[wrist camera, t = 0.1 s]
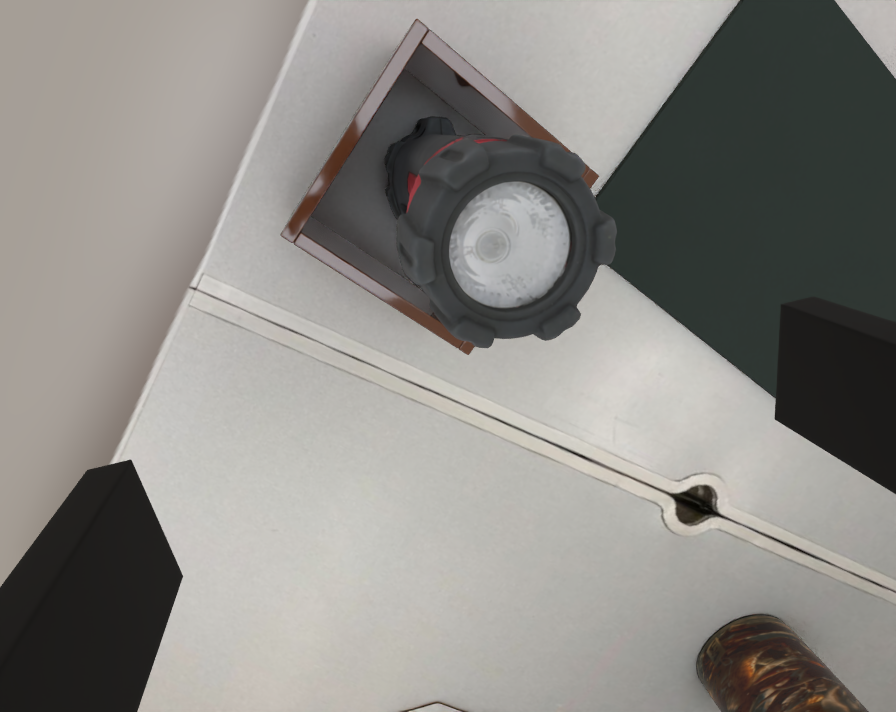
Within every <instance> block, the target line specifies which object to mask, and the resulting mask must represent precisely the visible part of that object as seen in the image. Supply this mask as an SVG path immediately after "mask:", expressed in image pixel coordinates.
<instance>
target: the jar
mask: <svg viewBox="0 0 896 712" xmlns="http://www.w3.org/2000/svg"><path fill="white" fill-rule="evenodd" d="M697 673H698V676H699V679H700V681H701V682H702V684H703V685H704V687H705V688H706V690H707V691H708V693H709V694H710V696H711V697H712V699H713V700H714V702H715V703H716V705H717V706H718V708H719V709H720V711H721V712H868V711H867V709H866V708H865V707H864V706H863V705H862V704H861V703H860V702H859V701H858V700H857V698H856V697H855V696H854V695H853V694H852V693H851V692H850V691H849V690H848V689H847V688H846V687H845V685H844V684H843V683H842V682H841V681H840V680H839V679H838V678H837V677H836V676H835V675H834V674H833V673H832V672H831V671H830V669H829V668H828V667H827V666H826V665H825V664H824V663H823V662H822V661H821V660H820V659H819V658H818V657H817V656H816V655H815V654H814V653H813V652H812V650H811V649H810V648H809V647H808V646H807V645H806V644H805V643H804V642H803V641H802V640H801V639H800V638H799V637H798V636H797V635H796V634H795V633H794V632H793V631H792V630H791V629H790V628H789V627H788V626H787V625H786V624H785V623H784V622H783V621H781V620H780V619H778V618H776V617H773V616H769V615H754V616H748V617H744V618H741V619H739V620H736V621H734V622H732V623H730V624H728V625H726V626H725V627H723V628H722V629H721V630H719V631H718V632H717V633H716V634H715V635H713V636H712V637H711V639H710V640H709V641H708V642H707V643H706V645H705V646H704V648H703V649H702V651H701V653H700V655H699V658H698V662H697Z"/></svg>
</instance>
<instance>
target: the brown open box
mask: <svg viewBox="0 0 896 712" xmlns="http://www.w3.org/2000/svg"><path fill="white" fill-rule="evenodd" d="M404 68H405V69H406V70H407V71H408V72H410V73H411V74H412V75H413V76H414V77H416V78H417V79H418V80H419V81H420V82H422V83H423V84H424V85H425V86H427V87H428V88H429V89H430V90H431V91H433V92H434V93H435V94H436V95H438V96H439V97H440V98H441V99H442V100H444V101H445V102H446V103H447V104H449V105H450V106H451V107H452V108H453V109H455V110H456V111H457V112H458V113H460V114H461V115H462V116H463V117H464V118H466V119H467V120H468V121H469V122H470V123H472V124H473V125H474V126H475V127H477V128H478V129H479V130H480V131H481V132H483V133H484V134H485V135H486V136H493V137H500V138H505V139H509V138H510V137H511V135H514V134H518V135H522V136H527V137H532V138H537V139H542V140H546V141H551V142H554V143H557V144H560V145H561V146H562V147H563V149H564V150H565V151H566V152H571V151H570V150H569V149H568V148H566V147H565V146H564V145H563V144H562V143H561V142H559V141H558V140H557V139H556V138H555V137H554V136H553V135H551V134H550V133H549V132H548V131H547V130H546V129H544V128H543V127H542V126H541V125H540V124H539V123H537V122H536V121H535V120H534V119H533V118H532V117H531V116H529V115H528V114H527V113H526V112H525V111H524V110H522V109H521V108H520V107H519V106H518V105H517V104H516V103H514V102H513V101H512V100H511V99H510V98H509V97H507V96H506V95H505V94H504V93H503V92H502V91H501V90H499V89H498V88H497V87H496V86H495V85H494V84H492V83H491V82H490V81H489V80H488V79H487V78H486V77H484V76H483V75H482V74H481V73H480V72H479V71H477V70H476V69H475V68H474V67H473V66H472V65H470V64H469V63H468V62H467V61H466V60H465V59H464V58H462V57H461V56H460V55H459V54H458V53H457V52H455V51H454V50H453V49H452V48H451V47H450V46H449V45H447V44H446V43H445V42H444V41H443V40H442V39H440V38H439V37H438V36H437V35H436V34H435V33H434V32H432V31H431V30H429V29H428V27H426V26H425V25H424V24H423V23H422V22H421V21H420V20H418V19H416V20H415V21H414V22H413V24H412V25H411V27H410V28H409V30H408V31H407V33H406V34H405V35H404V37H403V38H402V40H401V41H400V43H399V44H398V46H397V47H396V49H395V50H394V52H393V53H392V55H391V57H390V58H389V60H388V61H387V63H386V65H385V66H384V68H383V69H382V71H381V73H380V74H379V76H378V77H377V79H376V80H375V82H374V84H373V85H372V87H371V88H370V90H369V92H368V93H367V95H366V96H365V98H364V100H363V101H362V103H361V104H360V106H359V108H358V109H357V111H356V112H355V114H354V116H353V117H352V119H351V120H350V122H349V123H348V125H347V127H346V128H345V130H344V131H343V133H342V135H341V136H340V138H339V139H338V141H337V143H336V144H335V146H334V147H333V149H332V151H331V152H330V154H329V155H328V157H327V159H326V160H325V162H324V163H323V165H322V166H321V168H320V170H319V171H318V173H317V174H316V176H315V178H314V179H313V181H312V182H311V184H310V186H309V187H308V189H307V190H306V192H305V194H304V195H303V197H302V198H301V200H300V202H299V203H298V205H297V206H296V208H295V210H294V211H293V213H292V214H291V216H290V218H289V220H288V222H287V223H286V225H285V227H284V229H283V231H282V233H281V236H282V237H283V238H285V239H286V240H288V241H289V242H291V243H294V245H296V246H297V247H299V248H301V249H302V250H304V251H305V252H307V253H308V254H310V255H312V256H313V257H315V258H316V259H318V260H319V261H321V262H323V263H324V264H326V265H327V266H329V267H330V268H332V269H334V270H335V271H337V272H338V273H340V274H341V275H343V276H345V277H346V278H348V279H349V280H351V281H352V282H354V283H356V284H357V285H359V286H360V287H362V288H363V289H365V290H367V291H368V292H370V293H371V294H373V295H374V296H376V297H378V298H379V299H381V300H382V301H384V302H385V303H387V304H389V305H390V306H392V307H393V308H395V309H396V310H398V311H400V312H401V313H403V314H404V315H406V316H407V317H409V318H411V319H412V320H414V321H415V322H417V323H418V324H420V325H422V326H423V327H425V328H426V329H428V330H429V331H431V332H433V333H434V334H436V335H437V336H439V337H440V338H442V339H444V340H445V341H447V342H448V343H450V344H451V345H453V346H455V347H456V348H459V350H461V351H462V352H464V353H466V354H467V355H469V354H470V352H471V351H472V350H473V348H474V347H475V346H474V345H473V344H472V343H471V342H468V341H461V340H459V339H457V338H455V337H454V336H453V335H452V334H451V333H450V332H449V331H448V330H447V329H446V328H445V326H444V325H443V324H442V323H441V321H440V320H439V319H438V317H437V316H436V315H435V314H434V312H433V311H432V310H431V309H430V307H429V303H430V299H429V297H428V296H427V295H426V294H425V293H424V291H423V290H421V289H420V288H418V287H417V286H415V285H414V284H412V283H411V282H409V281H408V280H406V279H405V278H403V277H402V276H400V275H399V274H397V273H396V272H394V271H393V270H391V269H390V268H388V267H387V266H385V265H384V264H382V263H381V262H379V261H378V260H376V259H375V258H373V257H372V256H370V255H369V254H367V253H366V252H364V251H363V250H361V249H360V248H358V247H357V246H355V245H354V244H352V243H351V242H349V241H348V240H346V239H345V238H343V237H342V236H340V235H339V234H337V233H336V232H334V231H332V230H331V229H329V228H328V227H326V226H325V225H323V224H322V223H320V222H319V221H317V220H316V219H314V218H313V217H311V215H312V213H313V211H314V210H315V208H316V207H317V205H318V204H319V202H320V200H321V199H322V197H323V196H324V194H325V193H326V191H327V189H328V188H329V186H330V185H331V183H332V182H333V180H334V178H335V177H336V175H337V174H338V172H339V171H340V169H341V167H342V166H343V164H344V163H345V161H346V160H347V158H348V156H349V155H350V153H351V152H352V150H353V149H354V147H355V145H356V144H357V142H358V141H359V139H360V137H361V136H362V134H363V133H364V131H365V130H366V128H367V126H368V125H369V123H370V122H371V120H372V119H373V117H374V115H375V114H376V112H377V111H378V109H379V108H380V106H381V104H382V103H383V101H384V100H385V98H386V97H387V95H388V93H389V92H390V90H391V89H392V87H393V86H394V84H395V82H396V81H397V79H398V78H399V76H400V75H401V73H402V71H403V70H404ZM584 164H585V163H584ZM585 165H586V164H585ZM581 177H582V178H583V179H584V181H585V182H586V183H587V185H588V186H589V188H591V187H592V185H593V184H594V183H595V181H596V180H597V179H598V177H599V176H598V175H597V174H596V173H595V172H594V171H593V170H592V169H590V168H589V167H588V166H587V165H586V166H585V171H584V173H583V174H582V175H581Z"/></svg>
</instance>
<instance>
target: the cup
mask: <svg viewBox="0 0 896 712" xmlns="http://www.w3.org/2000/svg"><path fill="white" fill-rule="evenodd" d="M409 712H461V711H459V710H456V709H453V708H450V707H448V706H445V705H442V704H439V703H437V704H433V705H429V706H426V707H422V708H419V709H415V710H412V711H409Z"/></svg>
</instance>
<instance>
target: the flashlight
mask: <svg viewBox="0 0 896 712" xmlns="http://www.w3.org/2000/svg"><path fill="white" fill-rule="evenodd" d="M384 163H385V165H386V170H387V172H388V181H389V185H388V187H386V189H385V191H386V195H387V197H388V201H389V204H390V207H391V209H392V211H393V213H394V215H395V217H396V219H398V221H397V233H396V240H397V249H398V254H399V258H400V262H401V265H402V268H403V271H404V273H405V274H406V275H407V276H408V277H409V279H410V280H411V281H412V282H413V283H415V284H417V285H419V286H420V287H421V289H422V290H423V291H424V293H425V294H426V295H427V296H428V297H429V299H430V303H429V307H430V309H431V310H432V311H433V312H434V314H435V315H436V316H437V317H438V319H439V320H440V321H441V323H442V324H443V325H444V326H445V328H446V329H447V330H448V331H449V332H450V333H451V334H452V335H453V336H454V337H455V338H457V339H459V340H461V341H468V342H471V343H472V344H473V345H474V346H476V347H479V348H489V347H490V346H491V345H492V343H493V341H494V338H500V339H511V338H519V337H525V336H528V335H531V334H534V335H535V336H537V337H538V338H540V339H542V340H545V341H546V340H551V339H553V338H556V337H557V336H559V335H560V334H561V333H562V332H563V331H565V330H566V329H568V328H570V327H572V326H573V325H574V324H575V323H576V322H577V321H578V320H579V318H580V316H581V313H580V312H579V310H578V309H577V304H578V303H579V301H580V300H581V299H582V297H583V296H584V295H585V293H586V292H587V290H588V289H589V287H590V285H591V283H592V281H593V279H594V277H595V274H596V272H597V269H598V267H599V265H601V264H605V265H609V264H611V263H612V261H613V258H614V256H615V251H616V247H615V238H616V234H617V229H616V224H615V221H614V219H613V218H612V217H611V216H609V215H608V214H606V213H604V212H603V211H601V210H599V207H598V204H597V202H596V199H595V197H594V195H593V193H592V191H591V190H590V188H589V186H588V185H587V183H586V182H585V181H584V179H583V178H582V177H581V175H582V174H583V173H584V171H585V166H586V165H585V164H584V162H583V161H582V159H581V158H580V157H579V156H578V155H577V154H575V153H572V152H566V151H565V150H564V149H563V147H562V146H561V145H560V144H557V143H554V142H551V141H546V140H542V139H537V138H532V137H527V136H522V135H518V134H514V135H511V137H510V138H509V139H505V138H500V137H493V136H484V135H476V134H470V135H468V136H457V135H456V134H455V131H454V129H453V125H452V123H451V121H450V120H449V119H448V118H444V117H428V118H423V119H420V120H418V122H417V124H416V127H415V129H414V131H413V132H412V134H410V135H408V136H406V137H404V138H402V139H401V140H400V141H398V142H397V143H395V144H392V145H390V147H389V148H388V154H387V155H386V157H385V160H384Z"/></svg>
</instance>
